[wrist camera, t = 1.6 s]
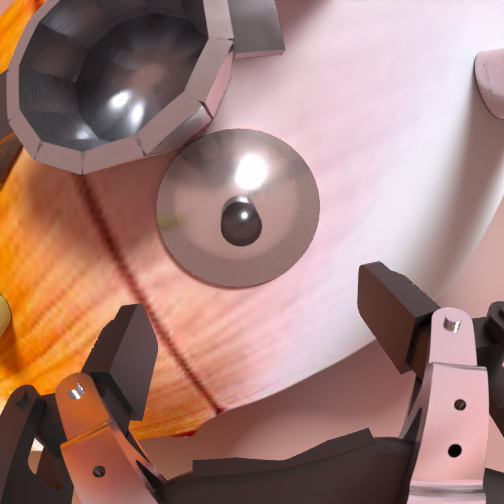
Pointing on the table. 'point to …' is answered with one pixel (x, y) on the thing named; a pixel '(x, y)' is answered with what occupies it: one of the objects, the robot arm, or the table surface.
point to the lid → (238, 207)
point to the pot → (126, 75)
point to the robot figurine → (8, 155)
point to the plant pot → (4, 315)
